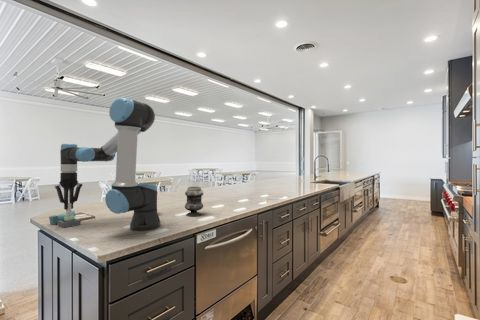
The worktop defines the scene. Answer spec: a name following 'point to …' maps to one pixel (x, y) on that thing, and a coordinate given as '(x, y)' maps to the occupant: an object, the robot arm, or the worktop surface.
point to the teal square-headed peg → (59, 217)
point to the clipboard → (83, 216)
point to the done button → (68, 218)
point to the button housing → (68, 223)
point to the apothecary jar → (194, 201)
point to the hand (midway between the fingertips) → (68, 215)
